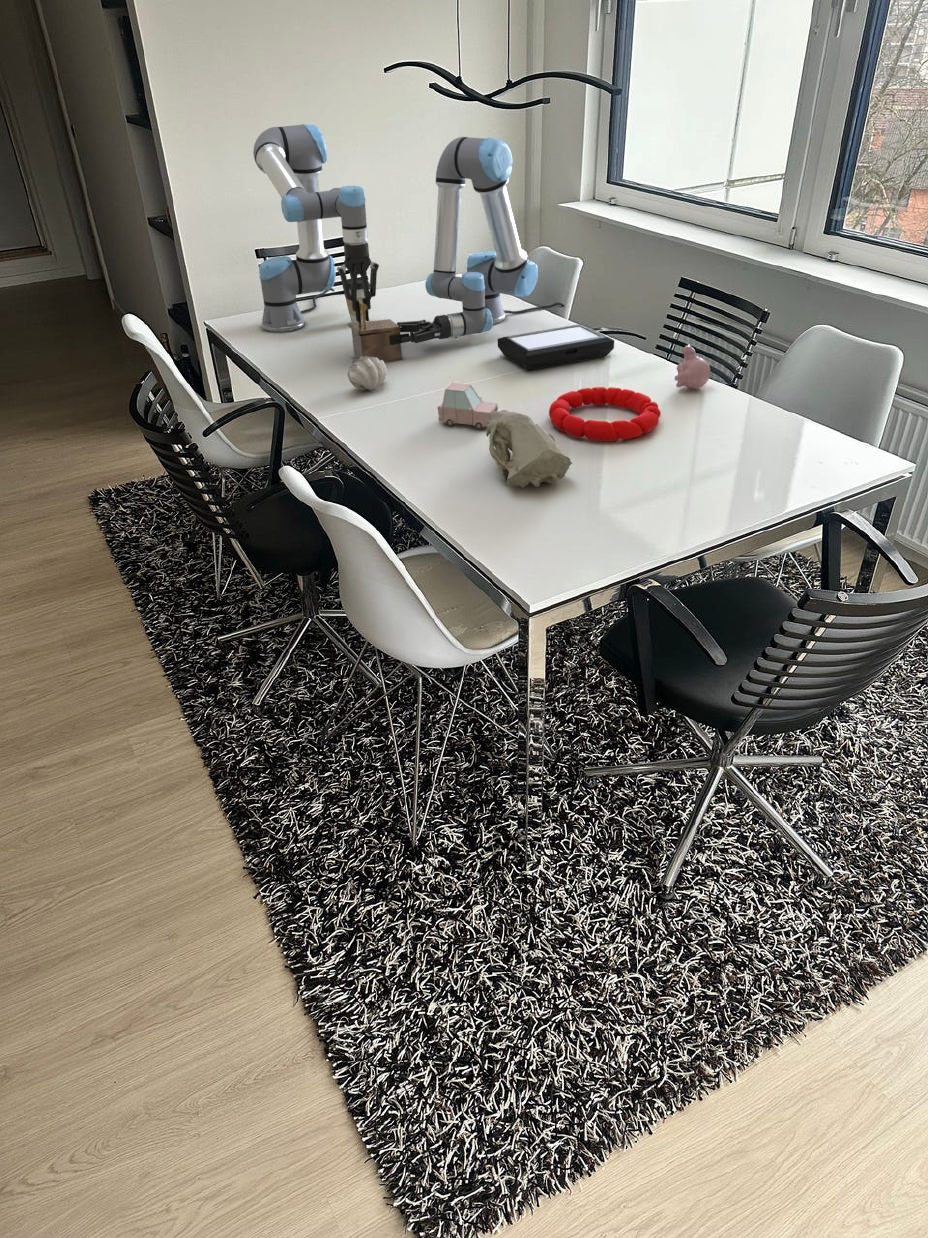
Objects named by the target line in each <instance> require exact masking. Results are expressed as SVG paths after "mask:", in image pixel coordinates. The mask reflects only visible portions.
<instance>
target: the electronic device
mask: <svg viewBox="0 0 928 1238" xmlns="http://www.w3.org/2000/svg"><path fill="white" fill-rule="evenodd" d="M497 348H498V349H499V351H500V352H501V353H502V355H503V356H504V357H506V359H509V360H510V361H511V362H514V363H516V364H517V365H519V366H520V367H522V368H524V369H525V370H526V371H532V370H538V369H542V368H543V369H544V368H548V367H554V366H555V367H556V366H560V365H567V364H572V363H578V362H582V361H587V360H594V359H600V358H604V357H608V355H609V354H610V353H611V352H612V351H613V350H614V349H615V340H614V339H612V338H611V337H609V336H607V335H605V334H603V333H601V332H599V331H596V330H595V329H593V328H591V327H589V326H587V325H585V324H583V323H578V324H573V325H566V326H561V327H554V328H549V329H542V330H536V331H531V332H525V333H518V334H514V335H508V336H507V335H506V336H503V337H498V338H497Z"/></svg>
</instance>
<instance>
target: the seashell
mask: <svg viewBox="0 0 928 1238" xmlns="http://www.w3.org/2000/svg"><path fill="white" fill-rule="evenodd" d="M387 375H388V371H387V366H386V362H384V361H383V360H379V359H378V358H377V357H376V358H374V357H368V356H365V357H363V356H361V357H360V359H356V358H354V359H351V361H350V363H349V365H348V368H347V378H348V381H349V383H350V384H351V385H352V386H353V387H354V388H355V389H357V390H361V391H364V390H371V391H372V390H376V389H379V387H380V386H381V385H382V384H383V383H384V381H385V380H386V378H387Z"/></svg>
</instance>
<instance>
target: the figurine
mask: <svg viewBox="0 0 928 1238" xmlns="http://www.w3.org/2000/svg"><path fill="white" fill-rule="evenodd" d="M682 354H683V358H684V359H683V361H682V362H679V363H678V364H677V365H676V372H677V375H675V376H674V381H675V382H676V381H677V382H676V384H675V386H676V388H681V387H686V388H688V389H693V390H694V389H695V390H696V389H700V388H703V387H704V386H705V385H706V384H707V383H708V382H709V379H710V377H711V367H710V364H709V362H708V361H706V359H704V358H702V357H700V356H697V353H696V350H695V349H694V347H692V345H690V344H686V345H685V346H684V347H683V348H682Z"/></svg>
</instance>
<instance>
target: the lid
mask: <svg viewBox="0 0 928 1238" xmlns="http://www.w3.org/2000/svg"><path fill="white" fill-rule="evenodd" d="M358 301H359V307H360V309H361V310H362V311H363V322H359V323H351V322H350V323H348V327H349V328H350V329H351V331H352V330H353V331H355V332H356V333H357V334H358V335H361V334H369V333H378V332H387V331H396V330H400V327H399V326H398V325H397V323H395V322H394V321H393V320H392V319H390V318H389V319H388V318H387V319H378V320H369V321H368V322H366V314H365V311H366V310H367V305H365V304H364V303H363V302H362V301H360V300H358ZM360 317H361V312H360Z"/></svg>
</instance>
